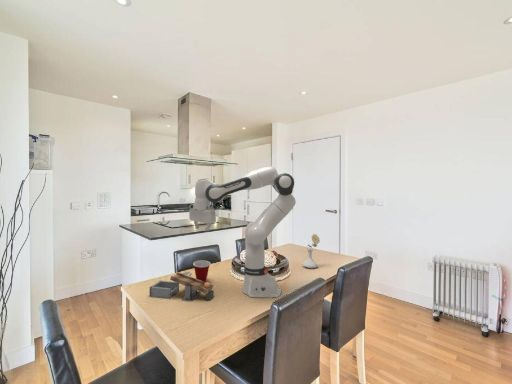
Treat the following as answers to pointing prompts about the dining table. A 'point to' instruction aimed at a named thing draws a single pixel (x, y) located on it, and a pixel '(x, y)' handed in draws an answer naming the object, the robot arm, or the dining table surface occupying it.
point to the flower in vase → (310, 262)
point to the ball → (207, 285)
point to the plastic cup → (201, 269)
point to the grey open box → (164, 289)
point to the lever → (191, 282)
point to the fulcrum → (190, 293)
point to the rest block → (210, 295)
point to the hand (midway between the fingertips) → (202, 229)
